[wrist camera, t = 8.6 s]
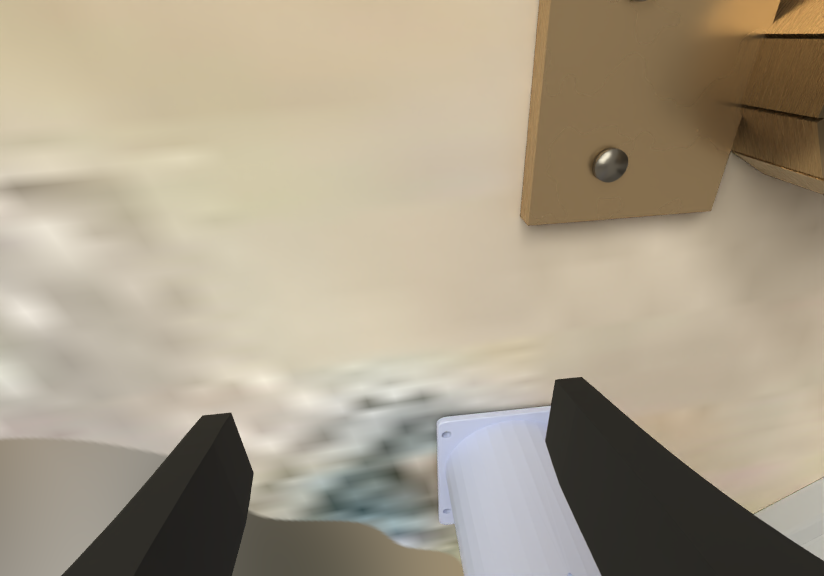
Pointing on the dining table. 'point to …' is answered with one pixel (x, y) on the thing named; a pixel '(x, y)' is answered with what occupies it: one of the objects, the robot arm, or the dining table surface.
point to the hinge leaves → (669, 103)
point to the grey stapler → (800, 517)
